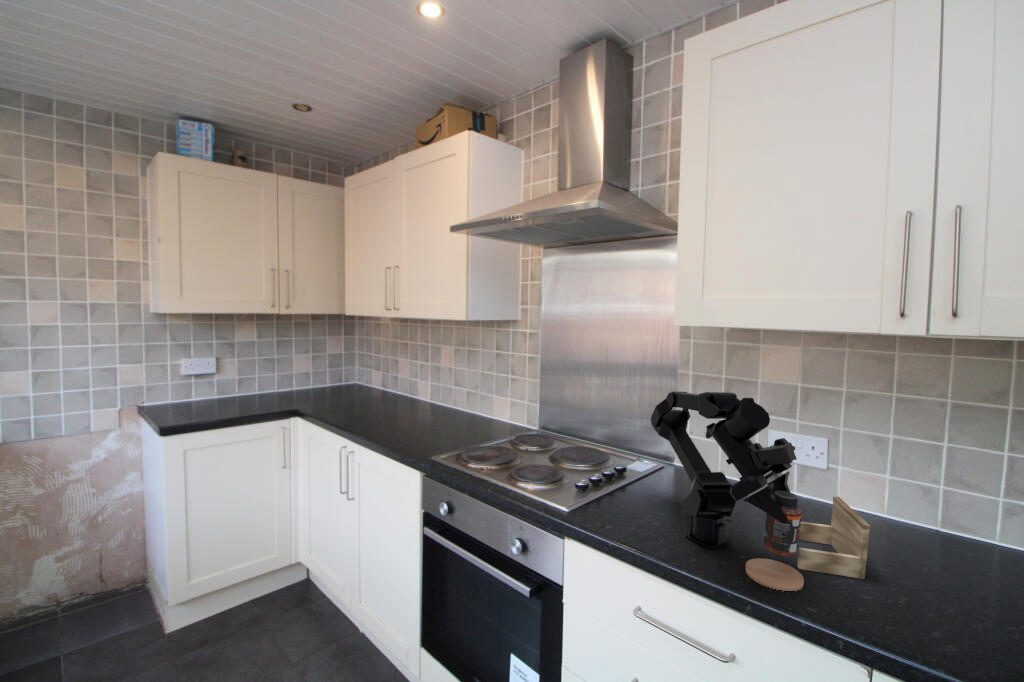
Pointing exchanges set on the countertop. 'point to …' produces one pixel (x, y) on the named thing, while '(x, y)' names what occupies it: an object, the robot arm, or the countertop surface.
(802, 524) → the wooden bench
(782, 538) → the supplement bottle
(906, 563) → the countertop surface
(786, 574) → the peach rounded disc
